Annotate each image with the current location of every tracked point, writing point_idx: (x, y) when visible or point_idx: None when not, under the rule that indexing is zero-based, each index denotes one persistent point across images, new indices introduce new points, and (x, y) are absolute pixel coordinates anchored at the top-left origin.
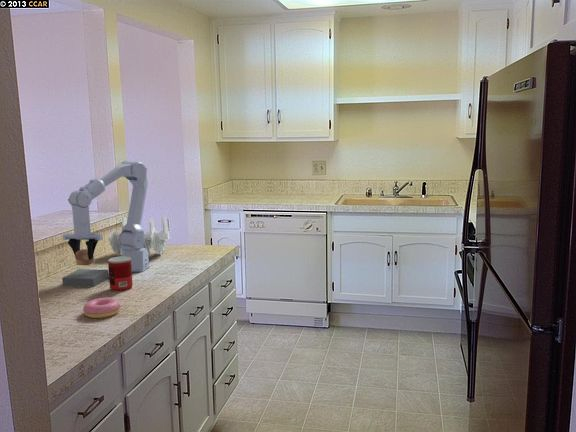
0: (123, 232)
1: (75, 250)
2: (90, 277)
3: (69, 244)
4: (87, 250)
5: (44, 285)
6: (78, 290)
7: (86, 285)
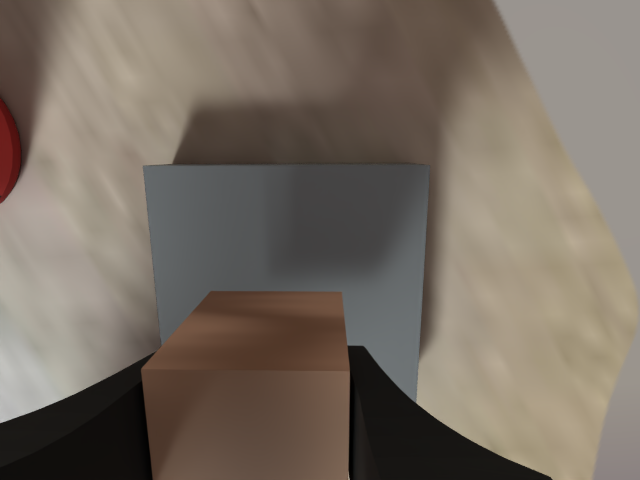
0: None
1: (359, 400)
2: (188, 201)
3: (504, 464)
4: (207, 478)
5: (562, 164)
6: (235, 63)
7: (225, 164)
